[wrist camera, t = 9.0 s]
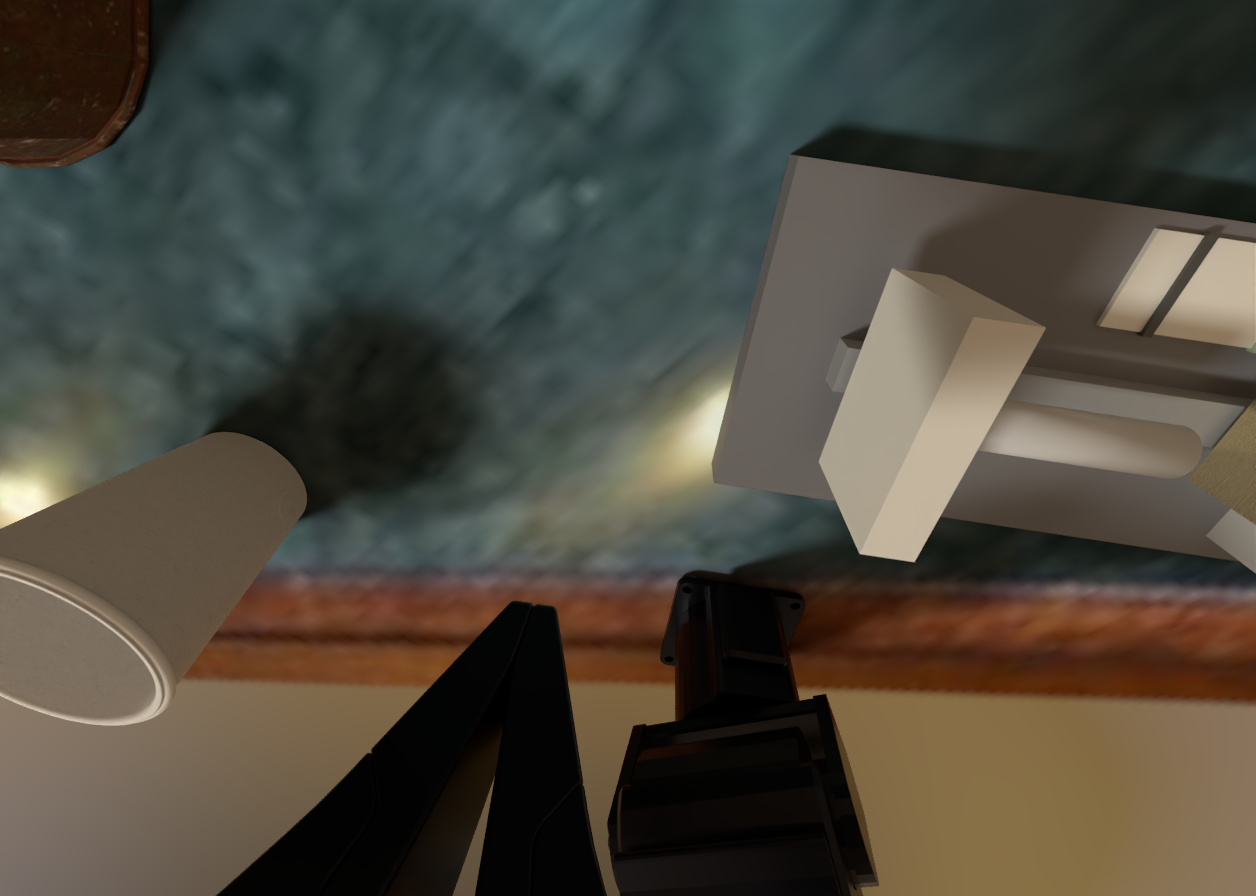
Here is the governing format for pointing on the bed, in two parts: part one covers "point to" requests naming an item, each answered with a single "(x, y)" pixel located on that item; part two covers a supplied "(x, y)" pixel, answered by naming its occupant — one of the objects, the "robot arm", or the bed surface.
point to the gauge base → (1059, 365)
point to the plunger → (959, 414)
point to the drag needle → (1233, 467)
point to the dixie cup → (138, 577)
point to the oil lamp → (68, 76)
